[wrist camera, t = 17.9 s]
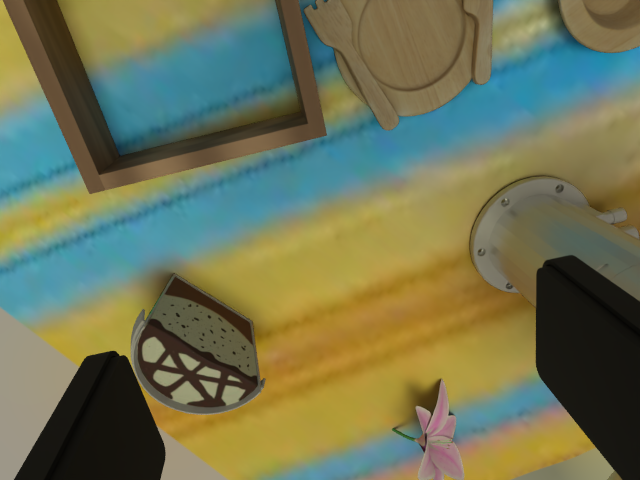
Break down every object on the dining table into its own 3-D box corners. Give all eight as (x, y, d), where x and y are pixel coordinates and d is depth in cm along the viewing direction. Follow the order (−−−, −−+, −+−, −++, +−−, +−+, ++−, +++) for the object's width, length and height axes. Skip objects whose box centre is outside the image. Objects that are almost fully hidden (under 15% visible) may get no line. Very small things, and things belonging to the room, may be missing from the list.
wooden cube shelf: (269, -99, 35) (272, -124, 29) (317, 122, 41) (326, 135, 36) (21, -42, 34) (-23, -57, 29) (111, 172, 41) (89, 194, 35)
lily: (440, 451, 61) (501, 487, 53) (367, 487, 56) (422, 534, 47) (433, 362, 60) (494, 385, 52) (357, 390, 54) (412, 421, 46)
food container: (125, 309, 46) (93, 377, 37) (160, 264, 45) (137, 323, 36) (228, 367, 51) (222, 440, 42) (263, 328, 49) (266, 394, 40)
